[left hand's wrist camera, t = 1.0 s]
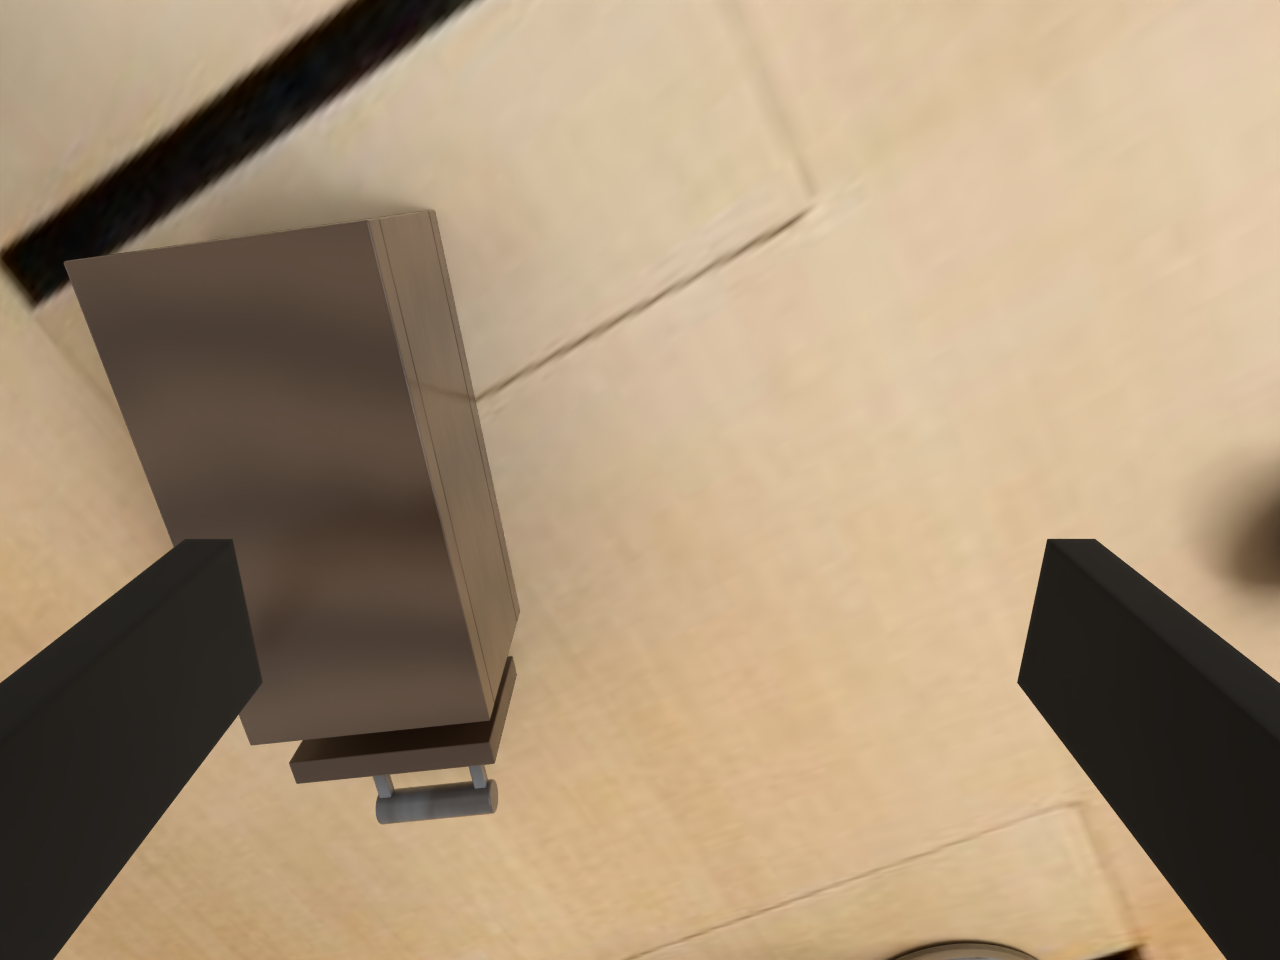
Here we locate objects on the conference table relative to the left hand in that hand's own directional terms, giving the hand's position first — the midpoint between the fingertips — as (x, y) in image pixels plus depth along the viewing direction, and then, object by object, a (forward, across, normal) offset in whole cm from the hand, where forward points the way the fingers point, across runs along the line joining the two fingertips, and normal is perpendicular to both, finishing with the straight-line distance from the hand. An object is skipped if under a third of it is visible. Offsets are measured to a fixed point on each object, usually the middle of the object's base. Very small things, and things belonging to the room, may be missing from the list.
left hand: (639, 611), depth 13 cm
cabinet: (+23, -12, -5) cm, 27 cm away
